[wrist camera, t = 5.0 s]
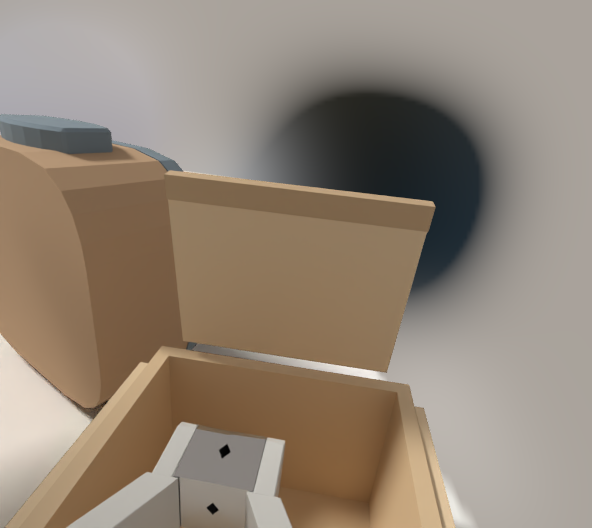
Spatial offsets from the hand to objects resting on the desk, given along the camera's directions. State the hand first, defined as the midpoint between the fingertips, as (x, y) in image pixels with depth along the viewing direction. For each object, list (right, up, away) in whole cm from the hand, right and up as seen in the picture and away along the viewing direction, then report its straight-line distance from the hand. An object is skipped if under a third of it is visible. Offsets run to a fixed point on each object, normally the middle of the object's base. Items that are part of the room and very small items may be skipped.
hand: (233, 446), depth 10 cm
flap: (+1, 0, +11) cm, 12 cm away
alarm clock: (-18, -4, +26) cm, 32 cm away
